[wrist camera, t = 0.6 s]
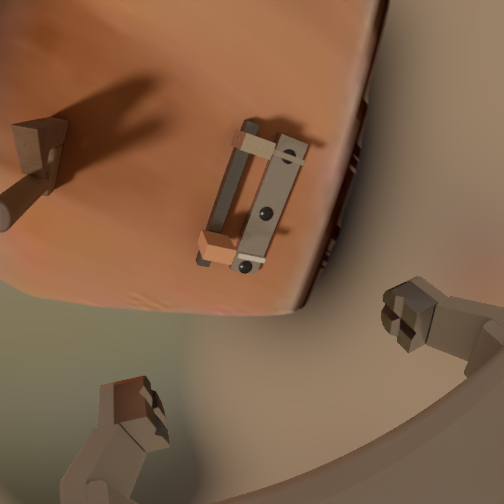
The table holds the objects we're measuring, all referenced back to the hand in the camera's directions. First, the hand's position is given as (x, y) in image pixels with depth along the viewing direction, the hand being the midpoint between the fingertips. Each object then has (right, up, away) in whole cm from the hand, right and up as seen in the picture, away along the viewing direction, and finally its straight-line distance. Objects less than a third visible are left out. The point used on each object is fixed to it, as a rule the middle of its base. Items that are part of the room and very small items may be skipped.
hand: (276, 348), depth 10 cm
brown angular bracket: (-30, +17, +28) cm, 45 cm away
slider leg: (-4, +4, +41) cm, 42 cm away
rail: (-3, +12, +41) cm, 42 cm away
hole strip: (+2, +11, +43) cm, 44 cm away
